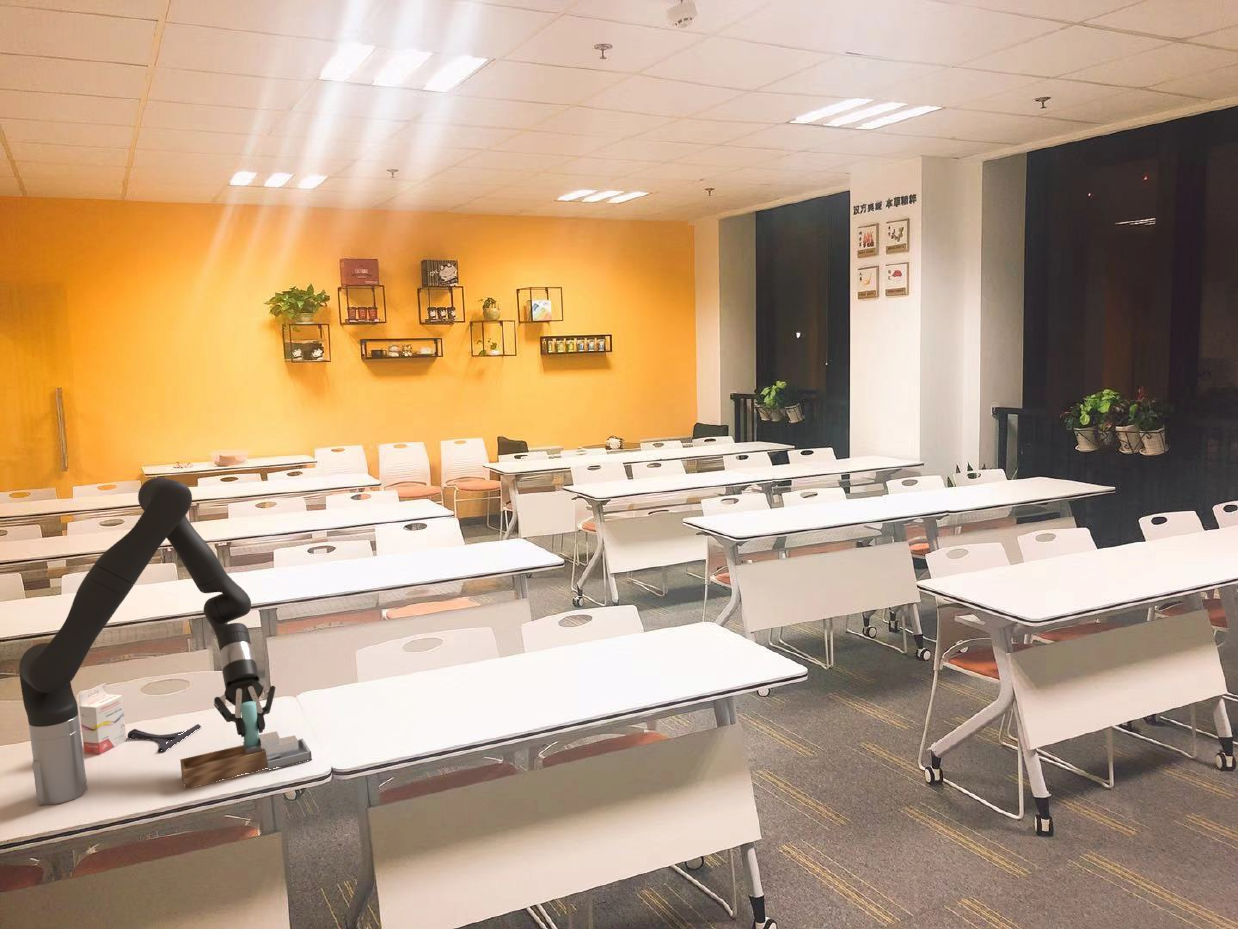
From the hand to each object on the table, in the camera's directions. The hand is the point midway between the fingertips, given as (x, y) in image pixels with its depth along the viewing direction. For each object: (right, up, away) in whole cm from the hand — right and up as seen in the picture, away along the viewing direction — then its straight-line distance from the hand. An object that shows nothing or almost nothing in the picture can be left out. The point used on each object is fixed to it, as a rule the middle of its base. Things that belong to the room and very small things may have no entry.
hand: (252, 733), depth 213 cm
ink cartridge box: (-42, -8, +17) cm, 46 cm away
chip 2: (+4, -5, +5) cm, 8 cm away
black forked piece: (-32, -8, +21) cm, 39 cm away
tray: (+6, -8, +6) cm, 11 cm away
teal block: (-1, -6, +2) cm, 6 cm away
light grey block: (+3, -6, +4) cm, 7 cm away
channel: (-6, -9, 0) cm, 11 cm away
